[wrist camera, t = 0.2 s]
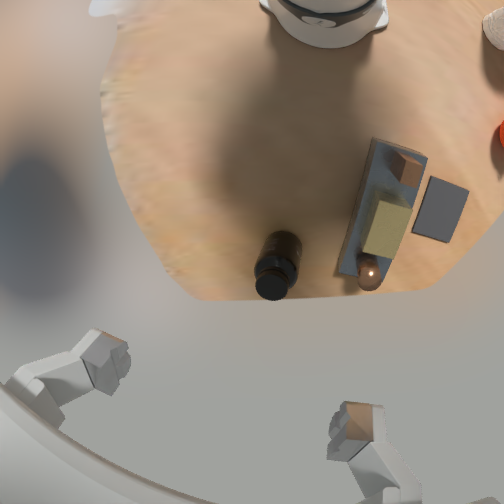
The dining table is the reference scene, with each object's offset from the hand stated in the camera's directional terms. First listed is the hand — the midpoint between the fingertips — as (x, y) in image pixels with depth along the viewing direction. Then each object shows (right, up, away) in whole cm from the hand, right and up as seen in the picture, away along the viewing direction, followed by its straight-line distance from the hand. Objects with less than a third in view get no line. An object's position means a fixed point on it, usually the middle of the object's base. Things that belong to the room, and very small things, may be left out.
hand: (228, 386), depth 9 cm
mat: (+32, +12, +30) cm, 46 cm away
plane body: (+21, +12, +33) cm, 41 cm away
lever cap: (+20, +10, +30) cm, 38 cm away
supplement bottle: (+6, +6, +41) cm, 42 cm away
